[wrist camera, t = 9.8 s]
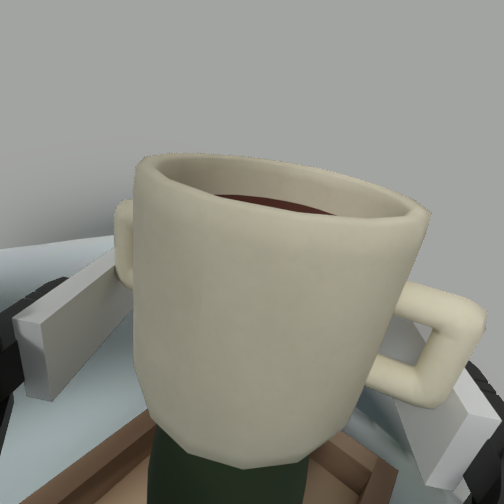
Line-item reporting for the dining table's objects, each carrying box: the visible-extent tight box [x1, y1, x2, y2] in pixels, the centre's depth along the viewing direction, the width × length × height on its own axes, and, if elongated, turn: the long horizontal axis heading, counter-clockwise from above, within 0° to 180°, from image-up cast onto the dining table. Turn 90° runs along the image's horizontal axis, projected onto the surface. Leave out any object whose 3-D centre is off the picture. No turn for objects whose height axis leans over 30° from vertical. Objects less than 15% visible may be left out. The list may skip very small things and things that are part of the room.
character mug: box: [114, 153, 487, 504], centre depth 10 cm, size 11×7×13 cm, turn 66°
